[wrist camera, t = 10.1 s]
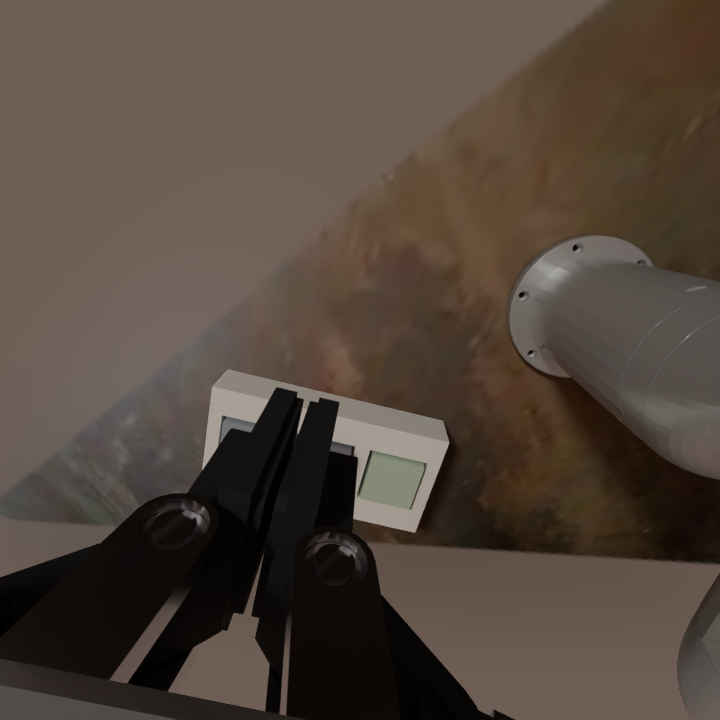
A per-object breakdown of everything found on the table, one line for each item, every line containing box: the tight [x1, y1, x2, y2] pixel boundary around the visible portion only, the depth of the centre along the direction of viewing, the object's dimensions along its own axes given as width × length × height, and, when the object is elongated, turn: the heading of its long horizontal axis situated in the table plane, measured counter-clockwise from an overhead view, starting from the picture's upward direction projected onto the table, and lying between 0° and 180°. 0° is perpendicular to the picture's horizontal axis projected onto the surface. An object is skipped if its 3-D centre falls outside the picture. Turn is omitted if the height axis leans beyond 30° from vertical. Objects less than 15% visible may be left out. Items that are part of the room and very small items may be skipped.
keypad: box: [202, 369, 449, 533], centre depth 40 cm, size 22×11×4 cm, turn 76°
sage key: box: [360, 450, 425, 510], centre depth 40 cm, size 5×5×3 cm
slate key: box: [220, 417, 256, 443], centre depth 39 cm, size 5×5×3 cm
